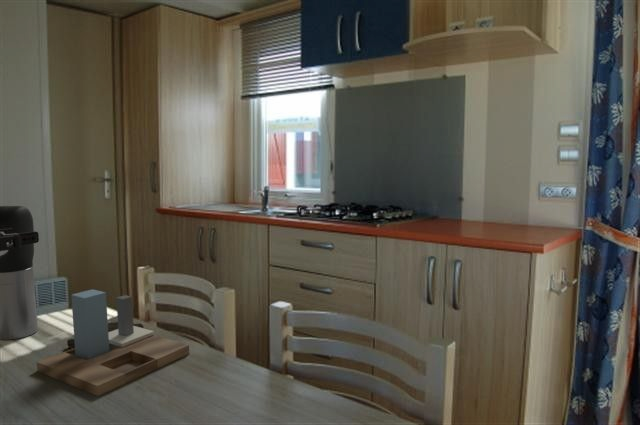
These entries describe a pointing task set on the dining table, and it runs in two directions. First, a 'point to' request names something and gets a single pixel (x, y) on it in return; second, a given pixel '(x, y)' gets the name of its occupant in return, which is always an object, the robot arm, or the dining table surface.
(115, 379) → the board
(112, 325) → the stone
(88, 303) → the block
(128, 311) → the lid
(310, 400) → the dining table surface
